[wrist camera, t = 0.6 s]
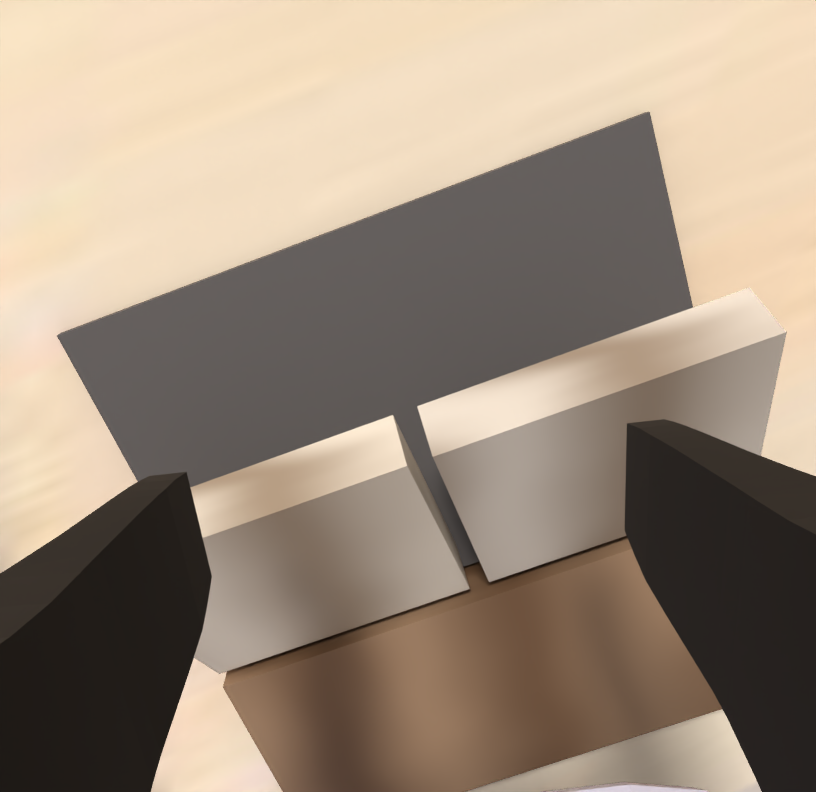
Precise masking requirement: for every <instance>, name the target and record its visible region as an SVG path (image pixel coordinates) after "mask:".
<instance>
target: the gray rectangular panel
mask: <svg viewBox="0 0 816 792" xmlns="http://www.w3.org/2000/svg"><path fill="white" fill-rule="evenodd" d="M690 308H693V306H692V301H691V297H690V292H689V287H688V283H687V278H686V274H685V269H684V265H683V260H682V256H681V251H680V247H679V242H678V238H677V233H676V229H675V224H674V220H673V215H672V211H671V206H670V202H669V197H668V193H667V188H666V184H665V179H664V175H663V170H662V166H661V161H660V157H659V152H658V148H657V143H656V139H655V134H654V130H653V125H652V121H651V116H650V112H646V113H643V114H640V115H637V116H635V117H632V118H629V119H627V120H624V121H621V122H619V123H616V124H614V125H611V126H608V127H606V128H603V129H600V130H598V131H595V132H592V133H590V134H587V135H584V136H582V137H579V138H576V139H574V140H571V141H568V142H566V143H563V144H561V145H558V146H555V147H553V148H550V149H547V150H545V151H542V152H539V153H537V154H534V155H531V156H529V157H526V158H523V159H521V160H518V161H515V162H513V163H510V164H508V165H505V166H502V167H500V168H497V169H494V170H492V171H489V172H486V173H484V174H481V175H478V176H476V177H473V178H470V179H468V180H465V181H462V182H460V183H457V184H455V185H452V186H449V187H447V188H444V189H441V190H439V191H436V192H433V193H431V194H428V195H425V196H423V197H420V198H417V199H415V200H412V201H409V202H407V203H404V204H402V205H399V206H396V207H394V208H391V209H388V210H386V211H383V212H380V213H378V214H375V215H372V216H370V217H367V218H364V219H362V220H359V221H356V222H354V223H351V224H349V225H346V226H343V227H341V228H338V229H335V230H333V231H330V232H327V233H325V234H322V235H319V236H317V237H314V238H311V239H309V240H306V241H303V242H301V243H298V244H296V245H293V246H290V247H288V248H285V249H282V250H280V251H277V252H274V253H272V254H269V255H266V256H264V257H261V258H258V259H256V260H253V261H250V262H248V263H245V264H242V265H240V266H237V267H235V268H232V269H229V270H227V271H224V272H221V273H219V274H216V275H213V276H211V277H208V278H205V279H203V280H200V281H197V282H195V283H192V284H189V285H187V286H184V287H182V288H179V289H176V290H174V291H171V292H168V293H166V294H163V295H160V296H158V297H155V298H152V299H150V300H147V301H144V302H142V303H139V304H136V305H134V306H131V307H129V308H126V309H123V310H121V311H118V312H115V313H113V314H110V315H107V316H105V317H102V318H99V319H97V320H94V321H91V322H89V323H86V324H83V325H81V326H78V327H76V328H73V329H70V330H68V331H65V332H62V333H60V334H59V335H57V337H58V339H59V340H60V342H61V344H62V346H63V348H64V349H65V351H66V353H67V355H68V357H69V358H70V360H71V362H72V364H73V366H74V367H75V369H76V371H77V373H78V375H79V376H80V378H81V380H82V382H83V384H84V385H85V387H86V389H87V391H88V393H89V394H90V396H91V398H92V400H93V402H94V403H95V405H96V407H97V409H98V411H99V412H100V414H101V416H102V418H103V420H104V421H105V423H106V425H107V427H108V429H109V430H110V432H111V434H112V436H113V438H114V439H115V441H116V443H117V445H118V447H119V448H120V450H121V452H122V454H123V456H124V457H125V459H126V461H127V463H128V465H129V466H130V468H131V470H132V472H133V474H134V475H135V477H136V479H137V481H138V482H139V481H140V480H142V479H144V478H146V477H148V476H153V475H162V474H171V473H180V472H187V476H188V480H189V484H190V487H193V486H196V485H199V484H201V483H204V482H207V481H210V480H213V479H215V478H218V477H221V476H224V475H227V474H229V473H232V472H235V471H238V470H241V469H243V468H246V467H249V466H252V465H255V464H257V463H260V462H263V461H266V460H269V459H271V458H274V457H277V456H280V455H282V454H285V453H288V452H291V451H294V450H296V449H299V448H302V447H305V446H308V445H310V444H313V443H316V442H319V441H322V440H324V439H327V438H330V437H333V436H336V435H338V434H341V433H344V432H347V431H350V430H352V429H355V428H358V427H361V426H363V425H366V424H369V423H372V422H375V421H377V420H380V419H383V418H386V417H389V416H391V415H393V416H394V418H395V420H396V422H397V424H398V426H399V428H400V430H401V432H402V434H403V436H404V439H405V441H406V443H407V445H408V447H409V449H410V451H411V453H412V455H413V457H414V459H415V461H416V463H417V465H418V467H419V469H420V471H421V473H422V475H423V477H424V479H425V482H426V484H427V486H428V488H429V490H430V492H431V494H432V496H433V498H434V500H435V502H436V504H437V506H438V508H439V510H440V512H441V514H442V516H443V518H444V520H445V522H446V524H447V527H448V529H449V531H450V533H451V535H452V537H453V539H454V541H455V543H456V545H457V548H458V552H459V555H460V558H461V561H462V565H463V567H464V566H467V565H470V564H473V563H476V562H479V559H478V557H477V554H476V552H475V550H474V548H473V545H472V543H471V541H470V539H469V537H468V534H467V532H466V530H465V528H464V525H463V523H462V521H461V519H460V517H459V514H458V512H457V510H456V508H455V505H454V503H453V501H452V499H451V497H450V494H449V492H448V490H447V488H446V485H445V483H444V481H443V479H442V477H441V474H440V472H439V470H438V468H437V465H436V463H435V461H434V459H433V456H432V453H431V450H430V447H429V443H428V440H427V437H426V434H425V430H424V427H423V424H422V421H421V417H420V414H419V411H418V408H417V406H419V405H422V404H425V403H428V402H431V401H433V400H436V399H439V398H442V397H444V396H447V395H450V394H453V393H456V392H458V391H461V390H464V389H467V388H470V387H472V386H475V385H478V384H481V383H484V382H486V381H489V380H492V379H495V378H498V377H500V376H503V375H506V374H509V373H512V372H514V371H517V370H520V369H523V368H525V367H528V366H531V365H534V364H537V363H539V362H542V361H545V360H548V359H551V358H553V357H556V356H559V355H562V354H565V353H567V352H570V351H573V350H576V349H579V348H581V347H584V346H587V345H590V344H593V343H595V342H598V341H601V340H604V339H606V338H609V337H612V336H615V335H618V334H620V333H623V332H626V331H629V330H632V329H634V328H637V327H640V326H643V325H646V324H648V323H651V322H654V321H657V320H660V319H662V318H665V317H668V316H671V315H674V314H676V313H679V312H682V311H685V310H687V309H690Z"/></svg>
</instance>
